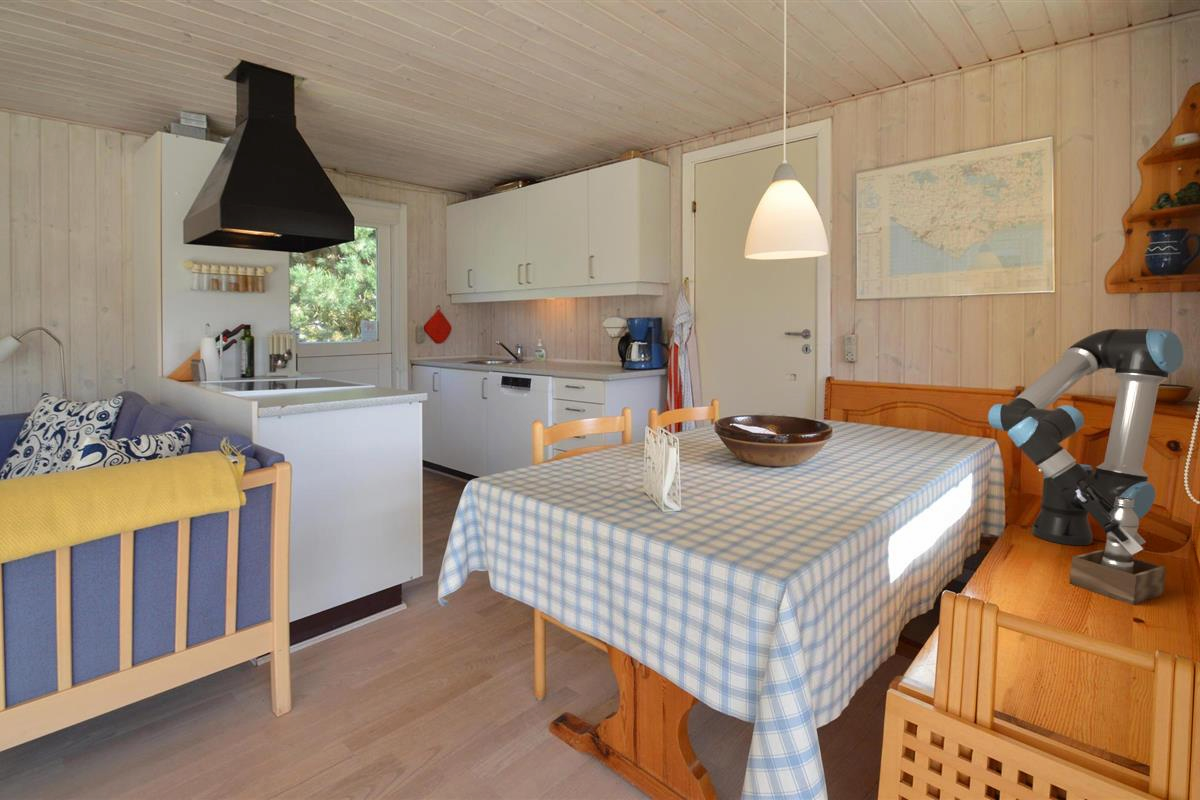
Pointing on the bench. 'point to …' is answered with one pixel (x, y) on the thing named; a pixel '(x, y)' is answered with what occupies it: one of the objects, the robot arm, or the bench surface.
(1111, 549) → the plastic bottle
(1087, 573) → the walnut bottle box
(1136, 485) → the robot arm
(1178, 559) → the bench surface
